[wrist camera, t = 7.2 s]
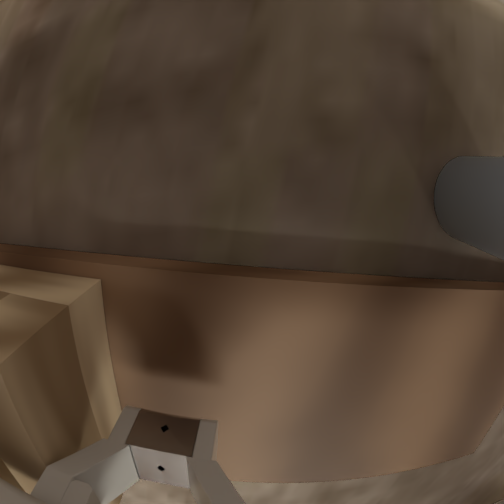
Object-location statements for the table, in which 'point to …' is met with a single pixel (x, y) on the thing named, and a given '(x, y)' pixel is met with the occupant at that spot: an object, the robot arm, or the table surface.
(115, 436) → the robot arm
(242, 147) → the table surface
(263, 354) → the track
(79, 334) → the block
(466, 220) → the dowel
